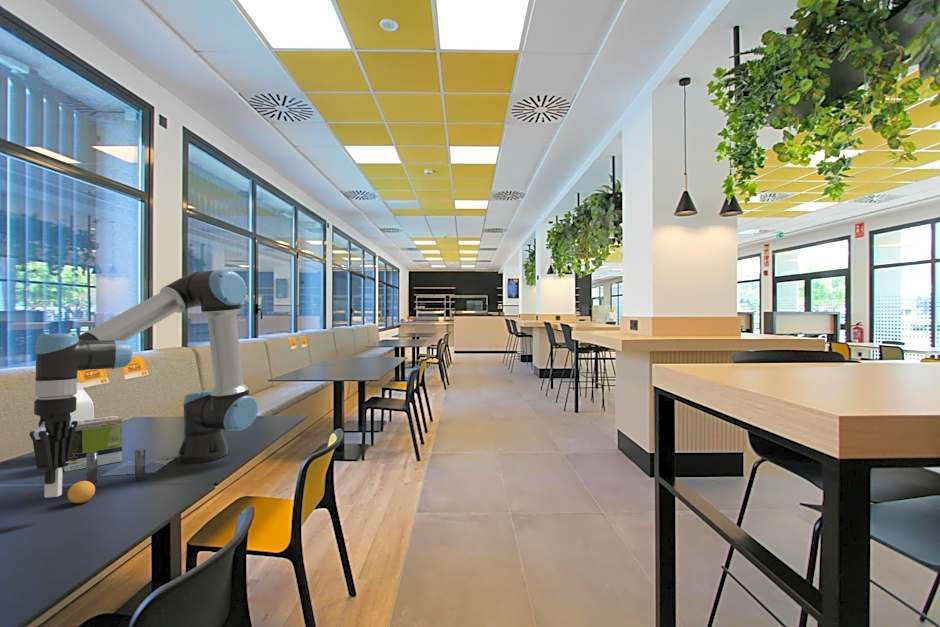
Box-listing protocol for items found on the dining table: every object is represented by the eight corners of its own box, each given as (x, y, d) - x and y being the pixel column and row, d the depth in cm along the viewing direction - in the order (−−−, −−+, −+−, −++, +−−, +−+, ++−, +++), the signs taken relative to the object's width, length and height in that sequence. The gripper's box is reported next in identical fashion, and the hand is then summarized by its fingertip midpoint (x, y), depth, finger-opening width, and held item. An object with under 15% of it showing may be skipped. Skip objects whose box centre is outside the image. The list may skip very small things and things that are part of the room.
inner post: (146, 478, 137) (146, 448, 137) (142, 481, 134) (142, 450, 134) (137, 479, 136) (137, 449, 136) (132, 481, 134) (133, 451, 134)
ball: (99, 497, 122) (99, 477, 122) (86, 505, 116) (87, 484, 116) (76, 499, 120) (76, 478, 121) (62, 507, 115) (62, 485, 115)
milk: (80, 450, 169) (81, 380, 169) (96, 454, 163) (96, 382, 164) (38, 459, 158) (39, 384, 159) (53, 463, 153) (54, 386, 153)
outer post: (99, 481, 134) (99, 451, 134) (94, 484, 132) (94, 453, 132) (89, 482, 134) (89, 451, 134) (84, 485, 131) (84, 454, 131)
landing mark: (175, 458, 157) (175, 458, 157) (154, 472, 142) (154, 472, 142) (126, 462, 154) (126, 461, 154) (100, 476, 139) (100, 475, 139)
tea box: (118, 456, 161) (118, 414, 161) (122, 462, 154) (122, 418, 154) (61, 465, 150) (61, 421, 151) (63, 472, 143) (63, 425, 143)
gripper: (56, 393, 115) (53, 487, 114) (16, 401, 102) (13, 507, 101) (90, 392, 116) (88, 485, 115) (55, 400, 104) (52, 504, 103)
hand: (53, 495), depth 108 cm, fingers closed
